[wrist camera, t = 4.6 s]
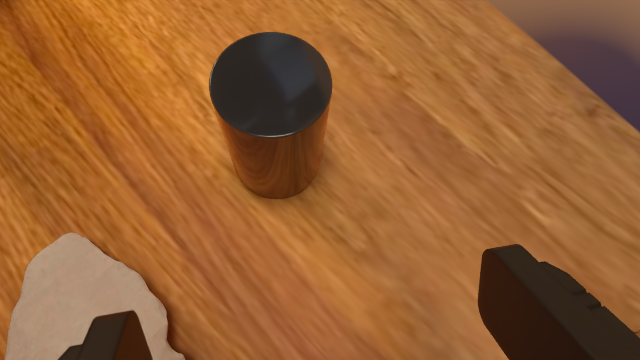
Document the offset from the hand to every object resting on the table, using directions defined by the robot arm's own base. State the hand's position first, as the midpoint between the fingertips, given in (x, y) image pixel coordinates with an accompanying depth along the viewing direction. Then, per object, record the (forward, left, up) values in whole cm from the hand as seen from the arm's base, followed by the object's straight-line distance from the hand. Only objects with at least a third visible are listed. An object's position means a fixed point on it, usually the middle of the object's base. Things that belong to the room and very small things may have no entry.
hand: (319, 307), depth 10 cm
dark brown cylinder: (-9, +1, -13) cm, 16 cm away
